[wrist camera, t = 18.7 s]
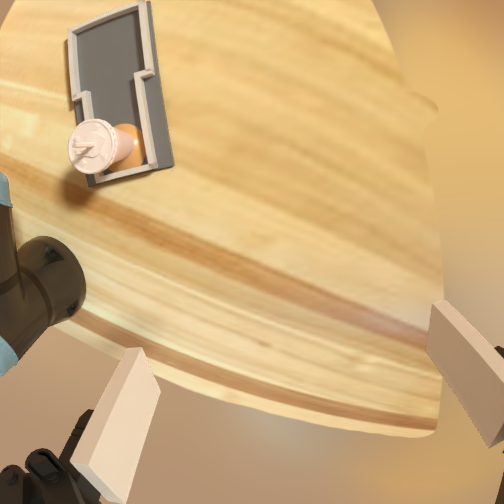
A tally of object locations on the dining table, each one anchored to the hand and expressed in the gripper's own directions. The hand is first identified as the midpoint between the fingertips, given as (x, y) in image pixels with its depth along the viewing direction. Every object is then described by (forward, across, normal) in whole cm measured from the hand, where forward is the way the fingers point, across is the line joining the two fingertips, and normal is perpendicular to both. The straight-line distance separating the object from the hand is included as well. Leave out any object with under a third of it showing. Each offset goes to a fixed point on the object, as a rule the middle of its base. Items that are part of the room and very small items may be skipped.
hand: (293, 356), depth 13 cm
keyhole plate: (+32, +18, -21) cm, 42 cm away
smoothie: (+31, +18, -12) cm, 38 cm away
